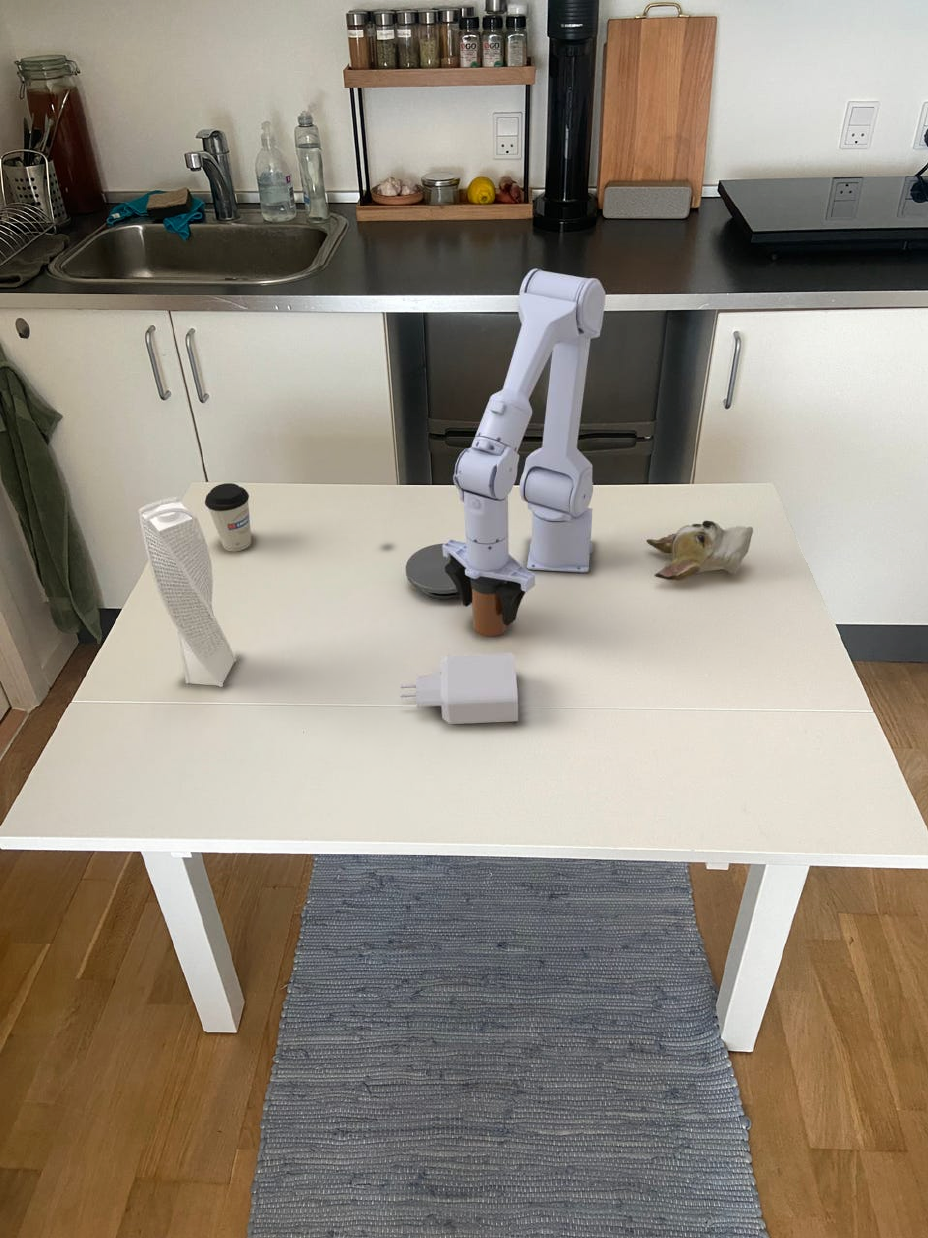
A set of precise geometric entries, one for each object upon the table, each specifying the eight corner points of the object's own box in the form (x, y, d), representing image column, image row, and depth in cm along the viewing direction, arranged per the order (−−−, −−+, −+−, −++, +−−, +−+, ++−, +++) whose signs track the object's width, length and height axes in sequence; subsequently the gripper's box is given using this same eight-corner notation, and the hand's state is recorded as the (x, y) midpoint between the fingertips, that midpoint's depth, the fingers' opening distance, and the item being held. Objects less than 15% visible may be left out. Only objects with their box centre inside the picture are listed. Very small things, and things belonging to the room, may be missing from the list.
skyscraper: (226, 695, 125) (178, 518, 108) (174, 690, 127) (118, 515, 109) (246, 656, 132) (203, 483, 114) (196, 652, 133) (146, 480, 115)
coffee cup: (207, 545, 154) (193, 493, 147) (240, 526, 158) (229, 475, 151) (233, 560, 150) (220, 507, 144) (267, 541, 154) (256, 488, 148)
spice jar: (508, 616, 136) (507, 566, 131) (504, 638, 132) (503, 587, 127) (475, 614, 137) (473, 564, 131) (470, 635, 133) (468, 585, 127)
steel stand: (489, 560, 147) (489, 545, 145) (479, 608, 138) (479, 591, 136) (415, 556, 149) (413, 541, 147) (400, 603, 140) (398, 587, 138)
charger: (403, 680, 126) (514, 675, 126) (401, 730, 119) (518, 724, 119) (400, 654, 123) (513, 649, 123) (397, 703, 116) (518, 698, 116)
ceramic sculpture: (762, 538, 134) (656, 545, 135) (756, 587, 139) (654, 593, 140) (746, 499, 142) (646, 506, 143) (741, 546, 147) (645, 553, 148)
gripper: (426, 528, 126) (432, 607, 134) (513, 564, 118) (513, 646, 127) (458, 505, 130) (462, 583, 138) (545, 539, 123) (543, 619, 131)
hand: (489, 611), depth 133 cm, fingers open, 7 cm apart
